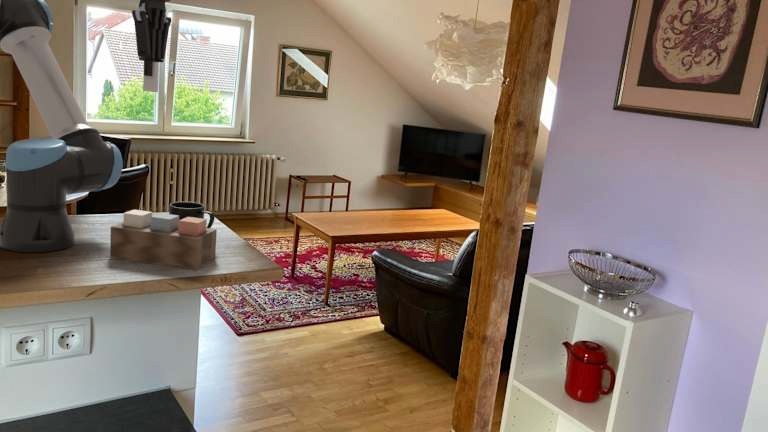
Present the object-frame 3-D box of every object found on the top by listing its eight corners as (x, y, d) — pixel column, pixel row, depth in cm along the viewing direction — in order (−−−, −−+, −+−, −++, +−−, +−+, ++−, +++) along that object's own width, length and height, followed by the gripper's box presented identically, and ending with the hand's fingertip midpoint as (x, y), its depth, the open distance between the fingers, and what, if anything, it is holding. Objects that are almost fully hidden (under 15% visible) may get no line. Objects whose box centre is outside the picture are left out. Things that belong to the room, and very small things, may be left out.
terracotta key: (177, 251, 140) (179, 220, 138) (186, 246, 144) (188, 216, 142) (196, 254, 139) (198, 223, 138) (205, 249, 143) (206, 219, 142)
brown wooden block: (110, 257, 139) (110, 226, 138) (134, 246, 149) (135, 217, 148) (196, 270, 137) (197, 239, 135) (215, 258, 146) (216, 229, 145)
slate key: (150, 247, 140) (151, 216, 139) (160, 242, 145) (160, 213, 143) (168, 250, 140) (169, 219, 138) (178, 245, 144) (179, 215, 143)
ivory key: (122, 243, 141) (123, 213, 140) (133, 239, 146) (134, 209, 144) (141, 246, 141) (142, 215, 139) (151, 241, 145) (152, 211, 144)
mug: (199, 251, 150) (201, 212, 148) (160, 242, 155) (162, 204, 153) (221, 245, 158) (223, 208, 156) (184, 236, 162) (185, 200, 160)
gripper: (154, -24, 129) (151, 93, 134) (183, -14, 142) (179, 93, 147) (120, -27, 130) (118, 89, 135) (152, -17, 143) (149, 89, 148)
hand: (150, 91), depth 141 cm, fingers closed
